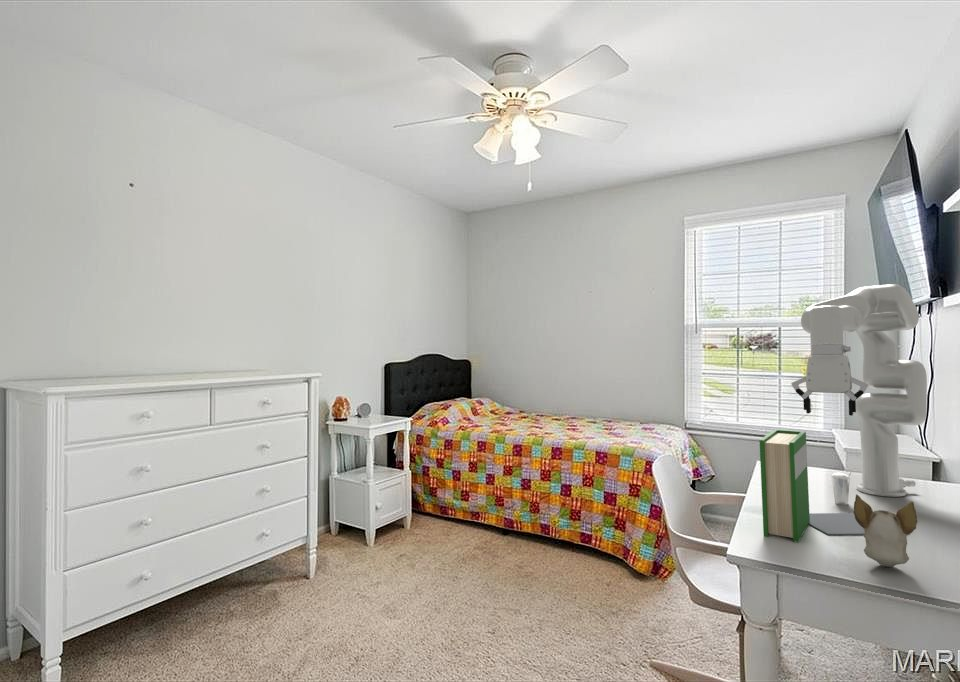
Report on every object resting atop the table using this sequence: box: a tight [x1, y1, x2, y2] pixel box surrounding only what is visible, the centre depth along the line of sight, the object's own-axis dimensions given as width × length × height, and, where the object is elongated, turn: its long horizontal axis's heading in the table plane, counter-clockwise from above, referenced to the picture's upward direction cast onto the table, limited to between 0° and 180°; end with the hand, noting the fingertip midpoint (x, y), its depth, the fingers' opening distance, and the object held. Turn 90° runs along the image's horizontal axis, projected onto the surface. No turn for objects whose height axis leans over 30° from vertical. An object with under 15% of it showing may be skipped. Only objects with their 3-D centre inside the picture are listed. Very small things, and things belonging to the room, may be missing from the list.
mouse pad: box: [808, 512, 911, 536], centre depth 136 cm, size 20×16×1 cm
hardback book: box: [759, 429, 810, 543], centre depth 133 cm, size 18×7×24 cm, turn 140°
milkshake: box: [831, 470, 853, 506], centre depth 154 cm, size 4×5×10 cm
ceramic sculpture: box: [852, 494, 918, 568], centre depth 109 cm, size 11×9×15 cm
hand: (829, 413), depth 140 cm, fingers open, 9 cm apart
